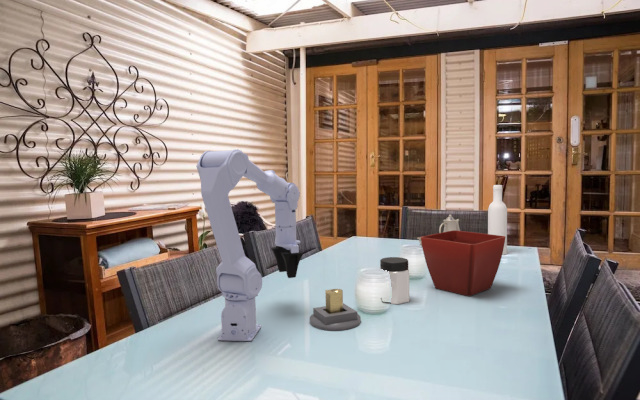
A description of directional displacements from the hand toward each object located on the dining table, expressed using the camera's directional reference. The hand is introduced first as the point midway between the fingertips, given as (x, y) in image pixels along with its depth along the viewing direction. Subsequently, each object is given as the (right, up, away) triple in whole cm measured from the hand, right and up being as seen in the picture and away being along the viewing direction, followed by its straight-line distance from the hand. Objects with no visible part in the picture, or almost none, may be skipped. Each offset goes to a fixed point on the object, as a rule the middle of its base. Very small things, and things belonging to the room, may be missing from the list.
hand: (287, 274), depth 123 cm
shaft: (+13, -9, -10) cm, 19 cm away
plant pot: (+54, -8, +17) cm, 58 cm away
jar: (+31, -9, +7) cm, 33 cm away
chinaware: (+69, -2, +88) cm, 112 cm away
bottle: (+87, -3, +71) cm, 112 cm away
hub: (+13, -10, -10) cm, 19 cm away
